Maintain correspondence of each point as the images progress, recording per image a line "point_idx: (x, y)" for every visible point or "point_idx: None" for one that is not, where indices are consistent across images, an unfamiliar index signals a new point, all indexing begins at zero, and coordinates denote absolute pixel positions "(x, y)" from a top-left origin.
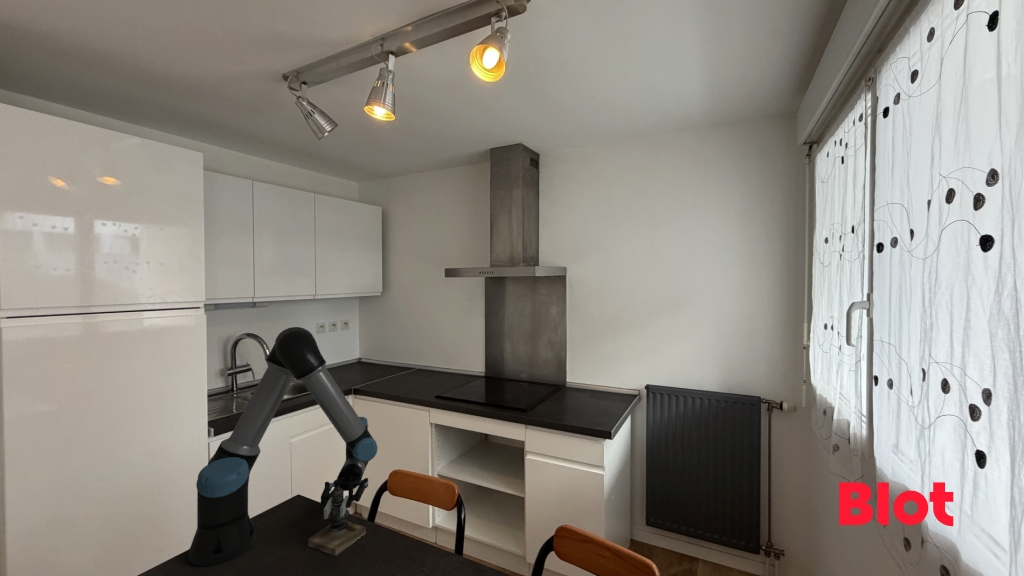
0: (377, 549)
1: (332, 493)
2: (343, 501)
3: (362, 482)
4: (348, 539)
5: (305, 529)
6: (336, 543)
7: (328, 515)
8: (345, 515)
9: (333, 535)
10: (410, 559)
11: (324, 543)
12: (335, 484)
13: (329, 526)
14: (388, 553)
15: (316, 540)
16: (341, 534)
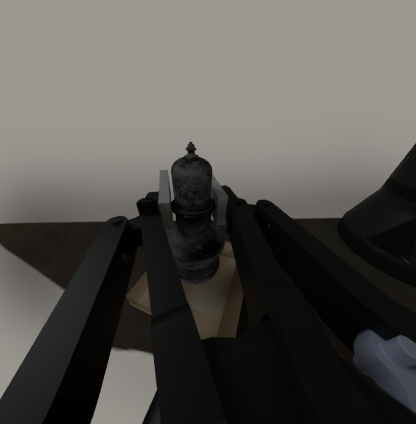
0: None
1: (241, 218)
2: (166, 183)
3: (33, 386)
4: None
5: None
6: None
7: (221, 232)
8: (170, 232)
9: (211, 282)
10: (54, 233)
11: None
12: (360, 373)
13: (218, 257)
14: (87, 244)
15: (231, 246)
16: (193, 287)
